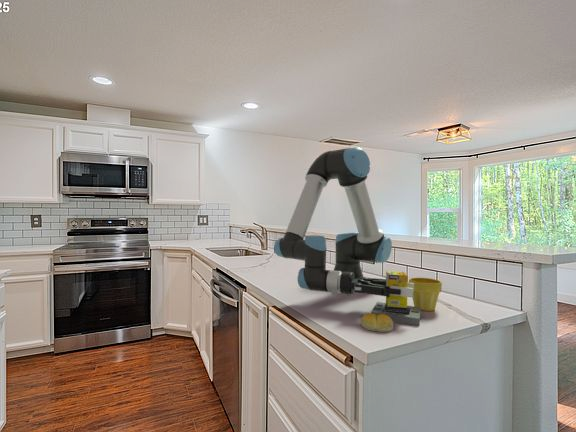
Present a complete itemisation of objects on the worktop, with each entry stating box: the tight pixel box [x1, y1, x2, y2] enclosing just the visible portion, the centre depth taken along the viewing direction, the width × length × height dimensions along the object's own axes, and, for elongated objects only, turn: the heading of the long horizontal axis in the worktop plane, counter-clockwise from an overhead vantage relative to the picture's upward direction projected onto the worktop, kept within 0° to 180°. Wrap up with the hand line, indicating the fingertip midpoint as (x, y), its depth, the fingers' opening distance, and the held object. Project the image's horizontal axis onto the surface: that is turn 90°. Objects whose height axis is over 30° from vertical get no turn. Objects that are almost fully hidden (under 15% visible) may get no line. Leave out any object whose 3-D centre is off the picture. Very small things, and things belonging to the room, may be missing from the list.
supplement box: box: [385, 270, 409, 310], centre depth 101 cm, size 6×6×11 cm
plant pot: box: [408, 276, 443, 312], centre depth 109 cm, size 10×10×10 cm
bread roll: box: [360, 312, 394, 333], centre depth 91 cm, size 8×9×4 cm
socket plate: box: [370, 301, 422, 326], centre depth 101 cm, size 12×14×2 cm
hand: (413, 290), depth 98 cm, fingers closed on supplement box, 7 cm apart
